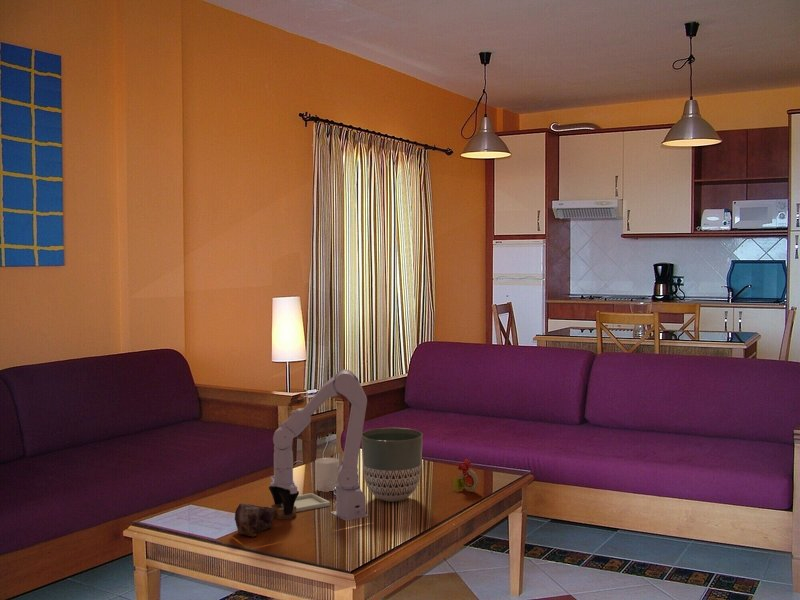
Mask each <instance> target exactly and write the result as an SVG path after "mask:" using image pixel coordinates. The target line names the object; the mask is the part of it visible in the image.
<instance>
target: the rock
mask: <svg viewBox="0 0 800 600" xmlns="http://www.w3.org/2000/svg"><path fill="white" fill-rule="evenodd" d="M273 520H274V518H273V511H272V509H271V507H268V506H259V505H254V504H250V503H238V506H237V508H236V509H235V514H234V522H235V526H236V528H237V532H238V533H239V534H240V535H245V536H247V537H249V536H252V537H251V538H254V536H256V537H257V535H258V534H260V533H263V531H266V530H268V529H272V527H273V524H274V522H273Z"/></svg>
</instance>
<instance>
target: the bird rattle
mask: <svg viewBox="0 0 800 600" xmlns="http://www.w3.org/2000/svg"><path fill="white" fill-rule="evenodd" d="M455 465H456V466H458V467H457V469H458V471H460V475H459V478H458V477H455V478H453V480H452V483H453V487H452V488H453V490H456V489H457V492H462V490H464V489H466V490H467V491H469V492H471V493H475V492H476V489H477V488H478V486H479V481H480V480H479V477H478V475H477V474H476V472H475V471H473V470H472V469H470V467H471V465H472V462H471V461H470V460H469V458H465V459H464V460H463V462H461V463H455Z"/></svg>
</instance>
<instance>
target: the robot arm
mask: <svg viewBox="0 0 800 600" xmlns="http://www.w3.org/2000/svg"><path fill="white" fill-rule="evenodd" d="M338 393H339V394H340V395H343V396H344V397H345V398H346V399H347V401H348V402H350V404H351V406H350V412H349V417H348V418H349V419H348V424H347V425H348V426H347V430H346V431H347V432H346V437H345V444H344V449H343V454H342V459H341V462H340V463H339V464H338V470H337V472H338V481H337V484H336V491H335V494H336V495H335V496H336V497H335V498H336V499H335V501H336V502H335V506H336V508H335V510H334V511H331V512H330V514H332V515H333V516H335V517H337V518H339V519H341V520H344V521H352V520H358V519H362V518H369V515H368V514H367V512H366V509H367V508H366V506H367V505H366V504H367V503H366V500H367V499H366V495H365V493H364V492H363V491H362V490H361V485H360V484H361V483H360V482H359V473H358V472H359V469H358V464H359V454H360V450H361V449H360V448H361V444H362V439H361V437H362V433H363V431H364V424H365V419H366V418H365V417H366V411H367V404H368V397H367V395H366V393H365V391H364V389H363V386H362V385H361V382H360V380H359V378H358V377H357V375H355V373H353V372H352V371H351V370H349V369H341V370H338V371H337V373H336V374H335V375H333V376H332V377H330V379H328V380H327V381H326V382H325V383H324V384H323V385H322V386H321V387H320V389H319V390H318V391H317V392H316V393H315V394H314V395H313V397H312V398H311V399H310V400H309V401H308V402H307V403H306V404H305V406H304V407H303V408H296V409H293V410H291V412H290V416H289V417H288V418H286V420H285V421H284V422H281V423H280V424H279V427H278V428H276V430H275V431H274V433H273V436H272V441H273V445H274V446H273V450H274V451H273V476H270V486H268V490H269V492H270V493H271V495H272V499H273V503H274V504H280V503H283V507H284V513H285V515H289V514H292V511H293V507H294V503H295V500H296V498H297V496H299V494H300V492H299V491H298V486H297V485H296V484H295V482H294V468H293V467H294V466H293V465H294V462H293V461H294V457H293V456H294V455H293V453H294V452H293V449H292V447H293V442H294V440H293V439H294V438H296V437H298V436H299V435H300V434H301V433H302V432H303V431H304V429H305V428H307V427H308V426H309V424H310V423H311V422H312V415H313V414H314V413H315V412H316V411H317V410H318V409H319V408H320V407H321V406H322V405H323V404H324V403H325V402H326V401H327V400H328V398H332V397H338V396H339V394H338Z"/></svg>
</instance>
